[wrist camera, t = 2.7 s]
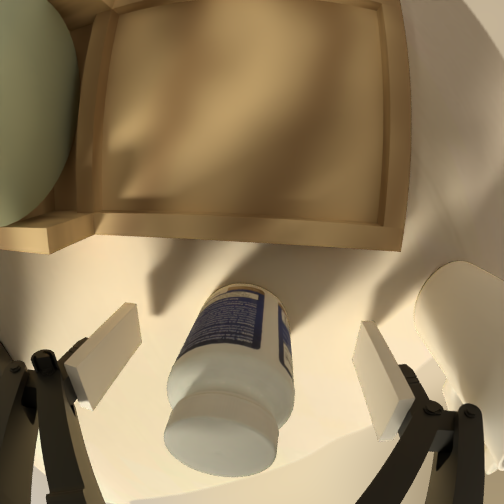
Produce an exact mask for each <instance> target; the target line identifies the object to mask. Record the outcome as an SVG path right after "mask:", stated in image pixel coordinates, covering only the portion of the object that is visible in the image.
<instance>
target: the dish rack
mask: <svg viewBox="0 0 504 504" xmlns="http://www.w3.org/2000/svg"><path fill="white" fill-rule="evenodd" d="M47 1H48V2H49V3H51V4H52V5H53V7H54V8H55V9H56V10H57V11H58V12H59V14H60V16H61V17H62V19H63V20H64V22H65V24H66V26H67V28H68V30H69V33H70V35H71V38H72V40H73V44H74V48H75V51H76V56H77V61H78V69H79V81H80V100H79V112H78V120H77V126H76V131H75V135H74V139H73V143H72V147H71V150H70V153H69V156H68V158H67V161H66V163H65V166H64V168H63V170H62V172H61V174H60V176H59V178H58V180H57V182H56V183H55V185H54V186H53V188H52V190H51V191H50V192H49V193H48V195H47V196H46V197H45V199H44V200H43V201H42V202H41V203H40V204H39V205H38V206H37V207H36V208H35V209H34V210H33V211H31V212H30V213H29V214H28V215H26V216H25V217H23V218H22V219H20V220H18V221H17V222H14V223H12V224H9V225H7V226H3V227H0V249H2V250H11V251H20V252H30V253H40V254H52V253H54V252H56V251H58V250H60V249H63V248H65V247H67V246H69V245H71V244H74V243H76V242H78V241H80V240H83V239H85V238H87V237H90V236H92V235H94V234H97V235H119V236H141V237H161V238H181V239H201V240H219V241H238V242H255V243H273V244H289V245H306V246H322V247H338V248H353V249H368V250H383V251H397V252H401V247H402V240H403V234H404V226H405V219H406V210H407V201H408V190H409V177H410V161H411V89H410V73H409V61H408V51H407V42H406V35H405V28H404V21H403V15H402V10H401V4H400V0H47Z"/></svg>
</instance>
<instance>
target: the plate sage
mask: <svg viewBox="0 0 504 504" xmlns="http://www.w3.org/2000/svg"><path fill="white" fill-rule="evenodd" d="M79 100H80V81H79V69H78V61H77V56H76V51H75V48H74V44H73V40H72V38H71V35H70V33H69V30H68V28H67V26H66V24H65V22H64V20H63V19H62V17H61V16H60V14H59V12H58V11H57V10H56V9H55V8H54V7H53V5H52V4H51V3H49V2H48V1H47V0H0V227H3V226H7V225H9V224H12V223H14V222H17V221H18V220H20V219H22V218H23V217H25V216H26V215H28V214H29V213H30V212H31V211H33V210H34V209H35V208H36V207H37V206H38V205H39V204H40V203H41V202H42V201H43V200H44V199H45V197H46V196H47V195H48V193H49V192H50V191H51V190H52V188H53V186H54V185H55V183H56V182H57V180H58V178H59V176H60V174H61V172H62V170H63V168H64V166H65V163H66V161H67V158H68V156H69V153H70V150H71V147H72V143H73V139H74V135H75V131H76V126H77V120H78V112H79Z"/></svg>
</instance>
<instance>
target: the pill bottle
mask: <svg viewBox="0 0 504 504" xmlns="http://www.w3.org/2000/svg"><path fill="white" fill-rule="evenodd" d="M167 396H168V400H169V403H170V406H171V408H172V409H173V410H172V412H171V414H170V417H169V420H168V423H167V426H166V429H165V432H164V442H165V445H166V447H167V449H168V451H169V452H170V453H171V454H172V455H173V456H174V457H175V458H176V459H177V460H179V461H180V462H181V463H183V464H185V465H186V466H188V467H190V468H192V469H194V470H197V471H200V472H203V473H206V474H210V475H215V476H222V477H243V476H250V475H254V474H257V473H260V472H262V471H264V470H265V469H267V468H268V467H270V466H271V465H272V463H273V462H274V460H275V458H276V454H277V443H278V436H279V430H278V429H280V428H281V427H282V426H283V425H284V424H285V423H286V421H287V420H288V418H289V417H290V415H291V412H292V410H293V406H294V396H295V389H294V379H293V364H292V352H291V340H290V328H289V321H288V316H287V313H286V310H285V308H284V306H283V304H282V303H281V301H280V300H279V299H278V298H277V297H276V296H275V295H273V294H272V293H270V292H269V291H267V290H266V289H264V288H261V287H259V286H256V285H252V284H241V283H240V284H232V285H229V286H225V287H223V288H221V289H219V290H218V291H216V292H215V293H213V294H212V295H211V296H210V297H209V298H208V299H207V301H206V302H205V304H204V305H203V307H202V309H201V311H200V313H199V315H198V317H197V319H196V321H195V323H194V325H193V327H192V329H191V331H190V333H189V335H188V337H187V339H186V341H185V343H184V346H183V347H182V349H181V351H180V354H179V355H178V357H177V359H176V361H175V363H174V365H173V367H172V370H171V372H170V375H169V377H168V381H167Z"/></svg>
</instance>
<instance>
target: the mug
mask: <svg viewBox="0 0 504 504" xmlns="http://www.w3.org/2000/svg"><path fill="white" fill-rule="evenodd" d="M414 325H415V328H416V331H417V333H418V335H419V336H420V338H421V339H422V341H423V342H424V344H425V345H426V347H427V348H428V350H429V352H430V353H431V355H432V356H433V358H434V359H435V361H436V362H437V364H438V365H439V367H440V368H441V369H442V371H443V373H444V374H445V375H446V377H447V379H446V381H445V384H444V386H443V388H442V389H443V390H442V391H443V395H444V398H445V401H446V405H447V408H448V411H458V409H459V407H460V406H461V405H463V404H465V403H470V404H474V405H476V406H477V407H478V408H479V409H480V410H481V412H482V418H483V430H484V442H485V444H484V450H485V472H486V473H487V474H491V473H493V472H495V471H496V470H497V469H499V470H501V471H504V281H503V280H501V279H499V278H498V277H496V276H494V275H493V274H491V273H489V272H487V271H485V270H483V269H481V268H479V267H477V266H475V265H473V264H471V263H469V262H465V261H455V262H451V263H448V264H446V265H444V266H443V267H441V268H440V269H438V270H437V271H436V272H435V273H434V274H433V275H432V276H431V277H430V278H429V279H428V280H427V282H426V283H425V285H424V286H423V288H422V289H421V291H420V293H419V296H418V298H417V301H416V304H415V309H414Z"/></svg>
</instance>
